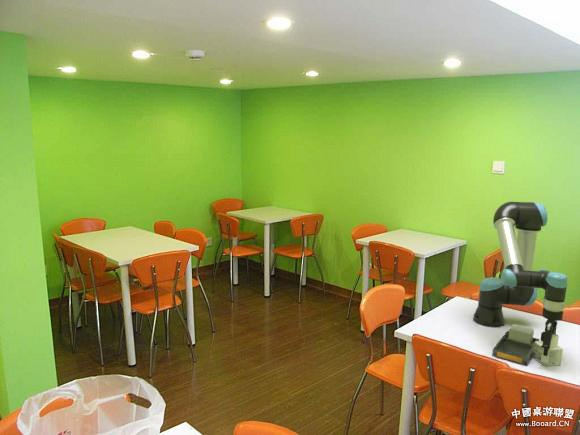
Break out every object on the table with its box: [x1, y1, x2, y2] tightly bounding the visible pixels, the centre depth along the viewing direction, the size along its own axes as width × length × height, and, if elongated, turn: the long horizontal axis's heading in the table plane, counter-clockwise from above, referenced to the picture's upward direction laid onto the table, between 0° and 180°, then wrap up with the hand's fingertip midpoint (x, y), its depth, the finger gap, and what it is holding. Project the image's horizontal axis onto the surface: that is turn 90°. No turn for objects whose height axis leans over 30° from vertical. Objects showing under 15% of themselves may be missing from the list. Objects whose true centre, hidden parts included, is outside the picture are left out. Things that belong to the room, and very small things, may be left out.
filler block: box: [508, 323, 535, 345], centre depth 210 cm, size 9×8×6 cm
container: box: [532, 331, 563, 367], centre depth 194 cm, size 8×8×13 cm
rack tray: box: [492, 330, 541, 367], centre depth 205 cm, size 14×27×3 cm, turn 142°
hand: (547, 357), depth 195 cm, fingers closed on container, 11 cm apart
